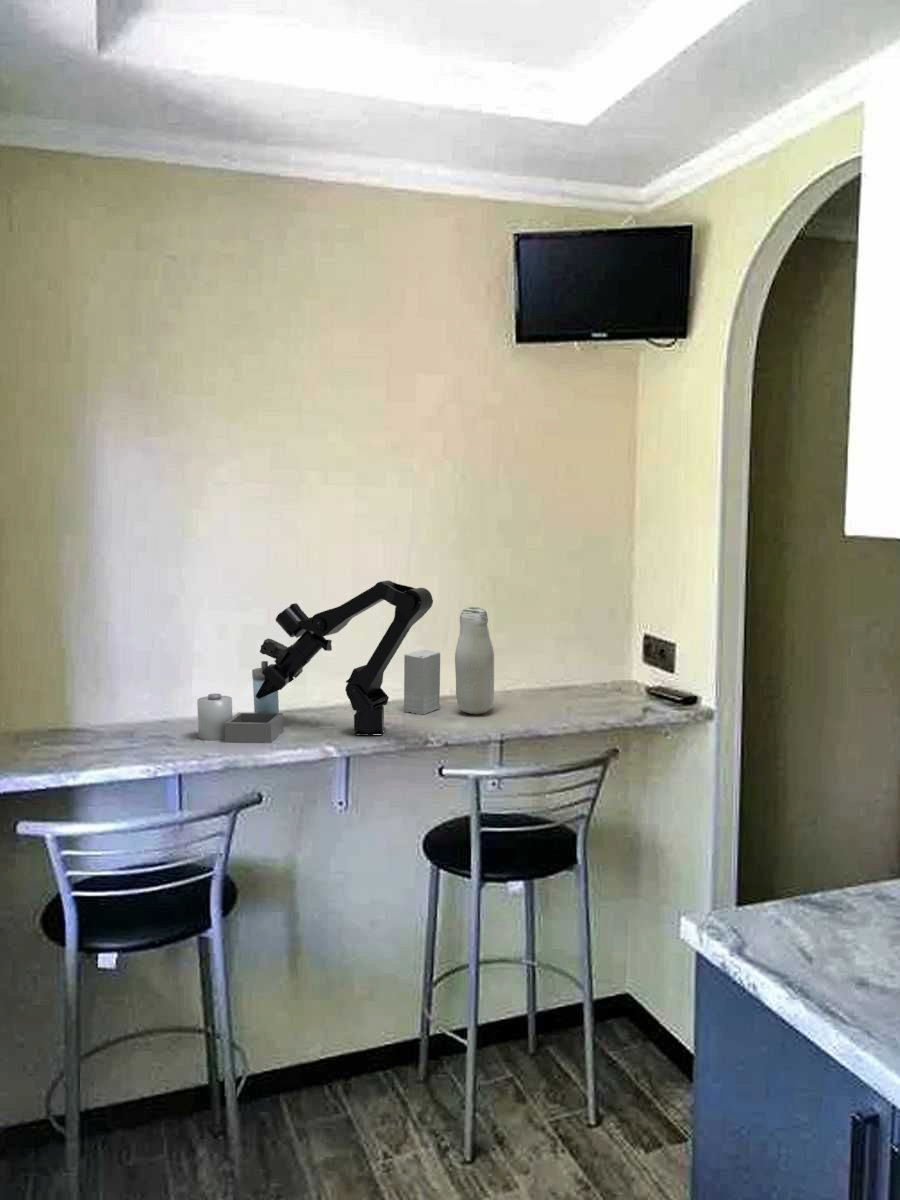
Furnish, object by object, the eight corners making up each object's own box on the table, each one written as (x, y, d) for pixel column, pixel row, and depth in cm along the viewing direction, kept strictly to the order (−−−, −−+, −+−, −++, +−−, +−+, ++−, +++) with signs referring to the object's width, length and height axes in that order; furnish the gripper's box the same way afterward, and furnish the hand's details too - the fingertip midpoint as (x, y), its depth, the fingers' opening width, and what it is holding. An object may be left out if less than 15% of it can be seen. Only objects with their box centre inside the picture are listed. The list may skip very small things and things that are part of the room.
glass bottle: (497, 710, 252) (496, 605, 249) (489, 718, 242) (488, 610, 239) (461, 708, 255) (460, 604, 252) (451, 716, 245) (450, 609, 242)
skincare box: (421, 706, 257) (420, 648, 256) (442, 709, 253) (442, 651, 252) (402, 712, 250) (401, 653, 249) (424, 715, 246) (423, 655, 245)
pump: (282, 718, 239) (280, 659, 237) (276, 723, 233) (273, 663, 231) (258, 718, 240) (255, 659, 238) (251, 724, 233) (248, 663, 232)
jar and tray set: (283, 731, 231) (282, 690, 230) (271, 742, 220) (270, 700, 219) (207, 730, 233) (205, 690, 231) (191, 741, 222) (190, 699, 221)
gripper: (288, 623, 243) (248, 665, 245) (269, 633, 224) (225, 679, 226) (320, 653, 243) (279, 695, 245) (303, 666, 224) (259, 711, 226)
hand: (260, 694), depth 236 cm, fingers closed on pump, 6 cm apart
